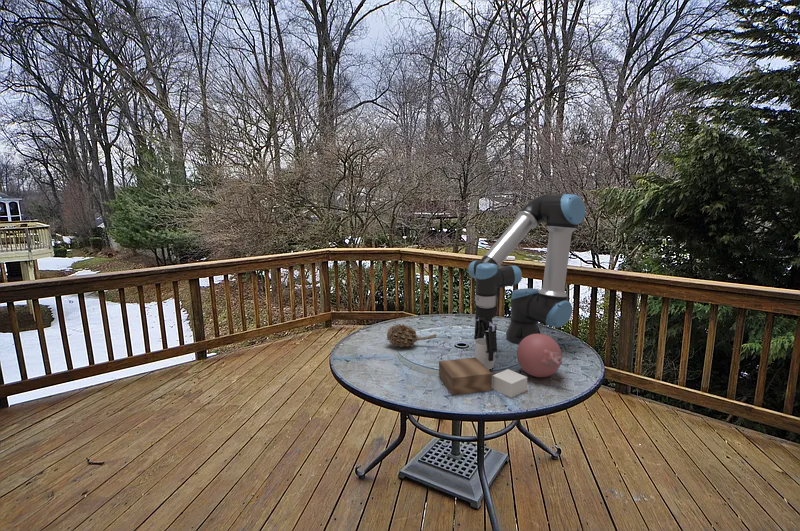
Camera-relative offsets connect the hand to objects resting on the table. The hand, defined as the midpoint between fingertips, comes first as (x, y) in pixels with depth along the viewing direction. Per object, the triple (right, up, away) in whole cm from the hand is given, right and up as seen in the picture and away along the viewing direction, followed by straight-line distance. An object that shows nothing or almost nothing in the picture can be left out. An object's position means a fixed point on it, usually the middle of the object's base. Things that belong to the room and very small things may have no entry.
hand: (484, 363), depth 154 cm
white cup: (0, -1, 0) cm, 1 cm away
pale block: (+5, -5, -17) cm, 18 cm away
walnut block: (-10, -4, -12) cm, 16 cm away
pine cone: (-27, +2, +23) cm, 35 cm away
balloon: (+18, -3, -9) cm, 21 cm away
